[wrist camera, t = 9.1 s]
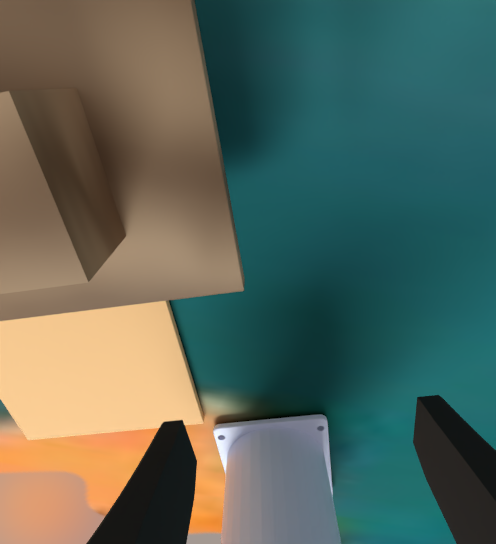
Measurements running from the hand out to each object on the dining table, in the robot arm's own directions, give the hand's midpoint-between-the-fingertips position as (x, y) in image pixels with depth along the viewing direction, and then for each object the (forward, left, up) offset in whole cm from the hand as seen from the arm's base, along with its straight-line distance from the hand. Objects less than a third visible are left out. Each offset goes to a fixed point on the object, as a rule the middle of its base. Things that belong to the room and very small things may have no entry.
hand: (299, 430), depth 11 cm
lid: (+8, +7, -6) cm, 12 cm away
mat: (-4, +13, -10) cm, 17 cm away
